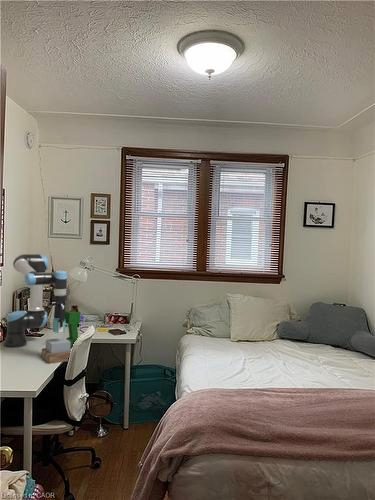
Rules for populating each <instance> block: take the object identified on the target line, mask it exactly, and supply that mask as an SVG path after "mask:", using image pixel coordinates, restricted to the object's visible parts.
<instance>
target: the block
mask: <svg viewBox="0 0 375 500" xmlns="http://www.w3.org/2000/svg"><path fill="white" fill-rule="evenodd" d="M58 321H59V318H54V317H53V318H52V332H54V333H55V334H56V333H58V334H59V333H60V332H58V326H59V322H58ZM65 332H66V323H65V321H64V322H63V332H62V333H65Z"/></svg>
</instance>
